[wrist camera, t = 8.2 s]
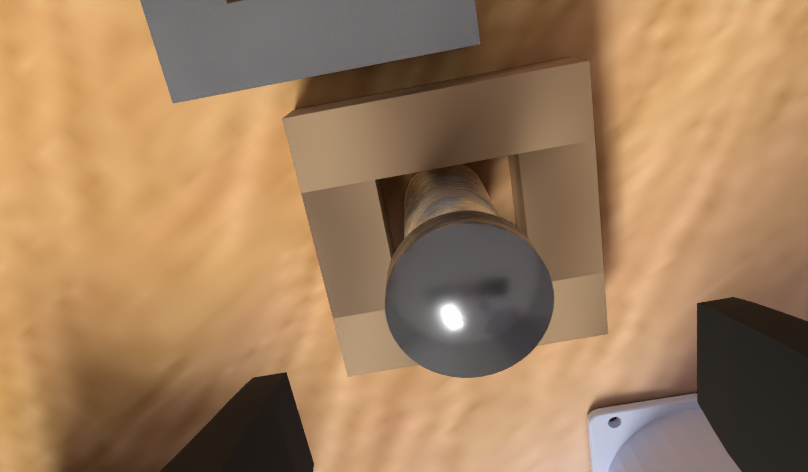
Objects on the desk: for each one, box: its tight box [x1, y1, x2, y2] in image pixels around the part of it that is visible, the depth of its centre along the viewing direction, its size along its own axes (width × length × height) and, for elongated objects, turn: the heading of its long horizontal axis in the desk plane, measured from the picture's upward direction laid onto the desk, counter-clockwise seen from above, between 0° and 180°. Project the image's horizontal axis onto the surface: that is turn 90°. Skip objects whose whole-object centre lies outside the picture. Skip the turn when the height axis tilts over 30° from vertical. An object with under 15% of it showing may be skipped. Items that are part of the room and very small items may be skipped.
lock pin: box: [385, 164, 554, 378], centre depth 16 cm, size 4×4×8 cm
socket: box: [283, 57, 608, 376], centre depth 19 cm, size 9×9×2 cm
